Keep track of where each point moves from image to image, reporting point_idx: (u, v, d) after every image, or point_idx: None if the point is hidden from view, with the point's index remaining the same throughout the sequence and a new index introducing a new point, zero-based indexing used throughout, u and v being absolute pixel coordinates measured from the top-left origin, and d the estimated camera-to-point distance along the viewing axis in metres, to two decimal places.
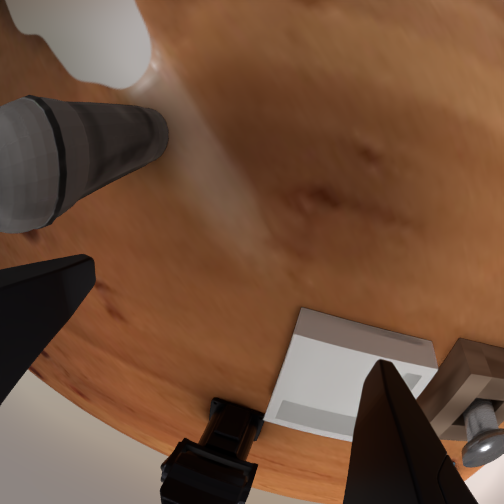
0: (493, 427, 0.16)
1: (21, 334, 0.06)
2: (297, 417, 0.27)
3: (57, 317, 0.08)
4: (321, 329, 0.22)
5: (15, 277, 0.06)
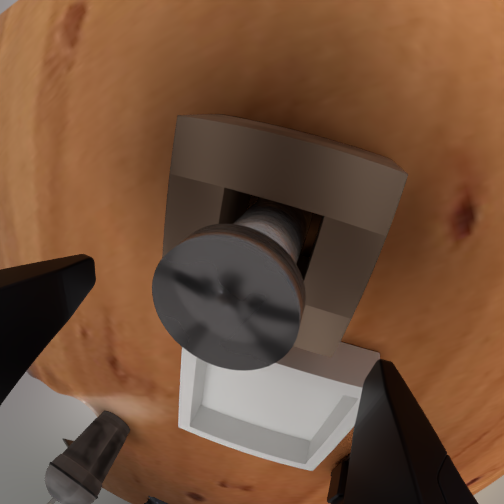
0: None
1: (21, 334, 0.06)
2: (315, 446, 0.20)
3: (57, 317, 0.08)
4: None
5: (15, 277, 0.06)
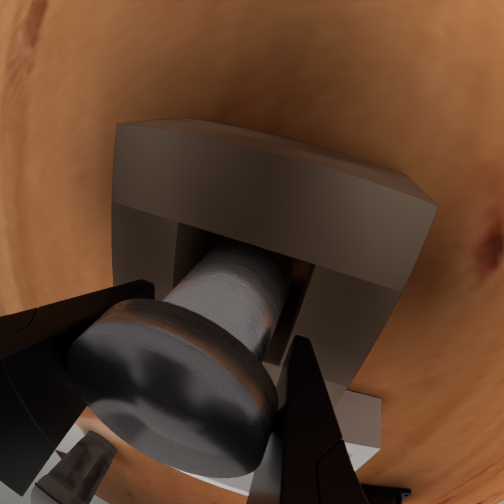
0: None
1: None
2: None
3: None
4: None
5: (72, 314, 0.06)
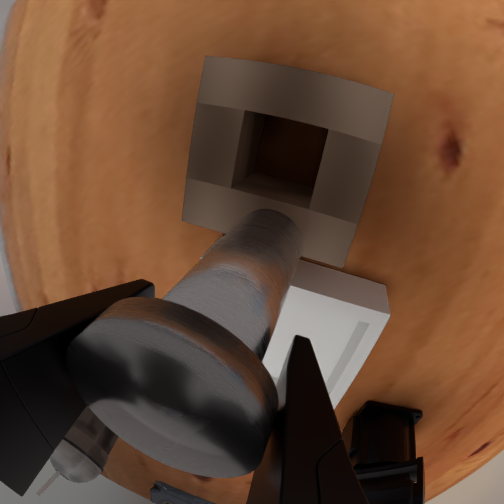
0: None
1: None
2: None
3: None
4: None
5: (72, 314, 0.06)
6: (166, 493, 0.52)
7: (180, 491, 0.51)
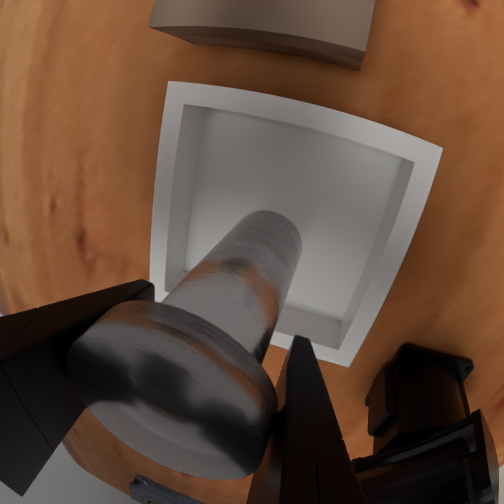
0: None
1: None
2: (353, 311, 0.15)
3: None
4: None
5: (72, 314, 0.06)
6: (147, 489, 0.44)
7: (163, 487, 0.44)
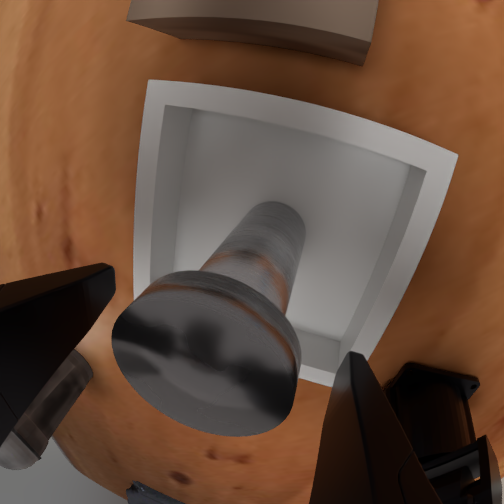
0: None
1: (40, 349, 0.06)
2: (354, 333, 0.14)
3: (77, 329, 0.08)
4: None
5: (33, 289, 0.06)
6: (144, 495, 0.42)
7: (160, 494, 0.42)
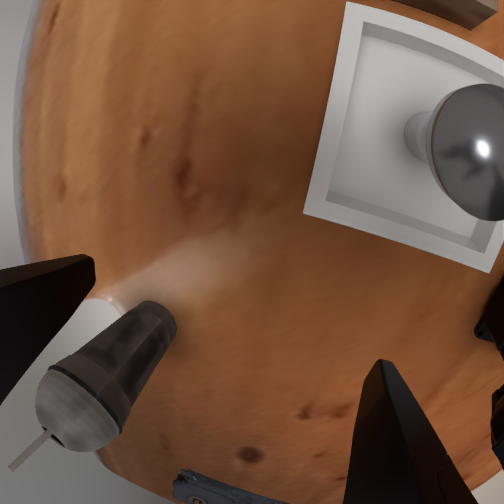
0: None
1: (21, 334, 0.06)
2: None
3: (57, 317, 0.08)
4: None
5: (15, 277, 0.06)
6: (196, 485, 0.42)
7: (215, 482, 0.42)
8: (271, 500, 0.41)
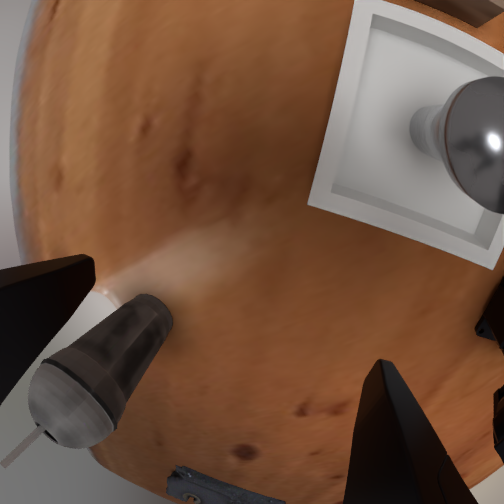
0: None
1: (21, 334, 0.06)
2: (496, 213, 0.14)
3: (57, 317, 0.08)
4: None
5: (15, 277, 0.06)
6: (190, 482, 0.42)
7: (210, 478, 0.42)
8: (267, 498, 0.40)
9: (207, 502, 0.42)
